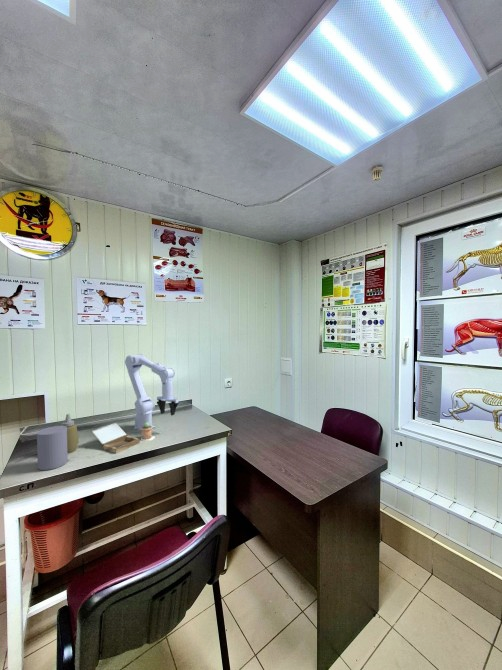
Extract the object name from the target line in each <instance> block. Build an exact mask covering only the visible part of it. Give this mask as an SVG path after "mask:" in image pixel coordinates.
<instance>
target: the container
mask: <svg viewBox="0 0 502 670" xmlns="http://www.w3.org/2000/svg"><path fill="white" fill-rule="evenodd" d="M36 443H37V444H36V447H37V451H36V452H37V469H38V470H40V471H50V470H54V469H57V468H60V467H62V466H64V465H65V464H66V463H67V462H68V458H69V457H68V454H69V453H68V454H67V427H66V426H62V425H55V426H49V427H45V428H43V429H40V430H38V431H37V432H36Z"/></svg>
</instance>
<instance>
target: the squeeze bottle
mask: <svg viewBox="0 0 502 670" xmlns="http://www.w3.org/2000/svg"><path fill="white" fill-rule="evenodd" d="M61 426H66V427H67V454H72V453H74V452H75V451H77V448H78V446H79V442H80V441H79V433H78V427H77V425H76V424H75V420H72V418H71V415H70V413H67V414H66V415H65V420H64V421H63V422H62V423H61Z"/></svg>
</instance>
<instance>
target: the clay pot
mask: <svg viewBox="0 0 502 670" xmlns="http://www.w3.org/2000/svg"><path fill="white" fill-rule="evenodd" d="M152 429H153V428H152V426H150V424H149V423H148V422H146V423H145V424H144V427H142V428H141V430H140V431H142V432H141V434H142V435H141V436H142V437H141V438H142V439H144V440H146V439H150V438H151V437H152V432H153V431H152Z"/></svg>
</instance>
